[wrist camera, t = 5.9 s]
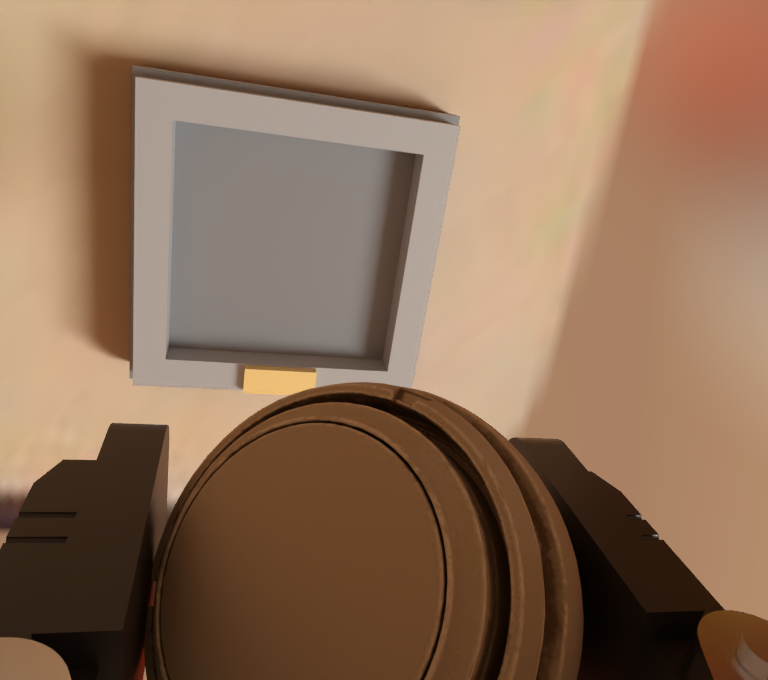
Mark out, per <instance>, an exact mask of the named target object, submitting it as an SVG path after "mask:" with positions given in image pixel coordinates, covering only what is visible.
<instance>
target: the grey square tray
mask: <svg viewBox="0 0 768 680" xmlns="http://www.w3.org/2000/svg"><path fill="white" fill-rule="evenodd" d="M459 118H460V116H456V115H452V114H448V113H441V112H435V111H429V110H422V109H416V108H409V107H403V106H396V105H390V104H383V103H377V102H371V101H364V100H358V99H351V98H345V97H338V96H332V95H326V94H319V93H313V92H306V91H300V90H293V89H287V88H280V87H274V86H268V85H261V84H255V83H248V82H242V81H235V80H229V79H222V78H216V77H210V76H203V75H197V74H190V73H184V72H177V71H171V70H165V69H158V68H152V67H145V66H139V65H133V66H132V76H131V237H130V378H133V385H136V386H159V387H181V388H203V389H225V390H243V393H253V394H276V395H292V394H295V393H298V392H301V391H304V390H307V389H311V388H316V387H322V386H327V385H333V384H341V383H352V382H372V383H384V384H389V385H394V386H400V387H407V388H412V385H413V379H414V374H415V369H416V363H417V358H418V352H419V347H420V342H421V336H422V331H423V325H424V320H425V315H426V309H427V304H428V298H429V293H430V287H431V282H432V277H433V271H434V266H435V260H436V255H437V250H438V244H439V239H440V233H441V228H442V223H443V217H444V212H445V206H446V201H447V196H448V190H449V185H450V179H451V174H452V169H453V163H454V158H455V152H456V147H457V142H458V136H459V131H460V126H458V124H459Z"/></svg>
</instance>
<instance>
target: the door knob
mask: <svg viewBox="0 0 768 680" xmlns="http://www.w3.org/2000/svg"><path fill="white" fill-rule="evenodd" d="M151 580H152V581H155V582H157V584H156V590H155V597H154V606H149V607H148V614H147V624H146V633H145V642H144V657H145V667H146V676H147V680H577V676H578V671H579V667H580V660H581V654H582V643H583V625H584V615H583V599H582V588H581V582H580V576H579V571H578V565H577V560H576V557H575V553H574V550H573V546H572V543H571V540H570V537H569V534H568V531H567V528H566V526H565V523H564V521H563V519H562V516H561V514H560V512H559V510H558V508H557V506H556V504H555V502H554V500H553V498H552V496H551V494H550V493H549V491H548V490H547V488H546V487H545V485H544V483H543V482H542V480H541V479H540V477H539V476H538V474H537V473H536V472H535V471H534V469H533V468H532V467H531V465H530V464H529V463H528V462H527V460H526V459H525V458H524V457H523V456H522V455H521V454H520V452H519V451H518V450H517V449H516V448H515V447H514V446H513V445H512V444H511V443H510V442H509V441H508V440H507V439H506V438H505V437H504V436H502V435H501V434H500V433H499V432H498V431H497V430H496V429H494V428H493V427H492V426H490V425H489V424H488V423H486V422H485V421H483V420H482V419H481V418H479V417H478V416H476V415H475V414H473V413H471V412H470V411H468V410H466V409H465V408H463V407H461V406H459V405H457V404H454V403H452V402H450V401H448V400H446V399H444V398H441V397H439V396H436V395H433V394H431V393H428V392H425V391H420V390H416V389H412V388H407V387H400V386H394V385H389V384H384V383H372V382H352V383H341V384H333V385H327V386H322V387H316V388H311V389H307V390H304V391H301V392H298V393H295V394H292V395H290V396H287V397H285V398H282V399H280V400H278V401H276V402H274V403H272V404H270V405H268V406H266V407H265V408H263V409H261V410H260V411H258V412H257V413H255V414H253V415H252V416H250V417H249V418H248V419H246V420H245V421H244V422H242V423H241V424H240V425H239V426H237V427H236V428H235V429H234V430H233V431H232V432H230V433H229V434H228V435H227V436H226V437H225V438H224V439H223V440H222V441H221V442H220V443H219V444H218V445H217V446H216V447H215V448H214V449H213V451H212V452H211V453H210V454H209V455H208V456H207V457H206V459H205V460H204V461H203V462H202V464H201V465H200V466H199V468H198V469H197V470H196V472H195V473H194V474H193V476H192V477H191V479H190V480H189V482H188V483H187V485H186V487H185V488H184V490H183V492H182V494H181V495H180V497H179V499H178V501H177V503H176V504H175V507H174V509H173V511H172V513H171V515H170V517H169V519H168V521H167V524H166V526H165V529H164V531H163V534H162V537H161V539H160V542H159V545H158V549H157V552H156V555H155V558H154V562H153V569H152V578H151Z"/></svg>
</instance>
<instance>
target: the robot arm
mask: <svg viewBox="0 0 768 680" xmlns="http://www.w3.org/2000/svg"><path fill="white" fill-rule="evenodd" d="M509 442H510V443H511V444H512V445H513V446H514V447H515V448H516V449H517V450H518V451H519V452H520V454H521V455H522V456H523V457H524V458H525V459H526V460H527V462H528V463H529V464H530V465H531V467H532V468H533V469H534V471H535V472H536V473H537V474H538V476H539V477H540V479H541V480H542V482H543V483H544V485H545V487H546V488H547V490H548V491H549V493H550V494H551V496H552V498H553V500H554V502H555V504H556V506H557V508H558V510H559V512H560V514H561V516H562V519H563V521H564V523H565V526H566V528H567V531H568V534H569V537H570V540H571V543H572V546H573V550H574V553H575V557H576V560H577V565H578V571H579V576H580V582H581V588H582V599H583V615H584V625H583V643H582V654H581V660H580V667H579V671H578V676H577V680H768V621H767V620H765V619H763V618H760V617H757V616H755V615H751V614H748V613H744V612H739V611H733V610H724V609H723V607H722V606H721V605H720V604H719V603H718V602H717V601H716V600H715V599H714V597H713V596H712V595H711V594H710V593H709V592H708V590H706V588H705V587H704V586H703V585H702V584H701V582H700V581H699V580H698V579H697V578H696V577H695V576H694V574H693V573H692V572H691V571H690V570H689V569H688V568H687V566H686V565H685V564H684V563H683V562H682V561H681V560H680V559H679V557H678V556H677V555H676V554H675V553H674V552H673V551H672V549H671V548H670V547H669V546H668V545H667V544H666V543H665V541H664V540H659V538H658V534H657V532H656V531H655V530H654V529H653V528H652V527H651V526H650V524H648V522H647V521H646V520H642V519H641V514H640V513H639V512H638V511H637V510H636V509H635V507H634V506H633V505H632V504H631V503H630V502H629V500H628V499H627V498H626V497H625V496H624V495H623V494H622V492H621V491H619V490H618V489H616V488H615V487H613V486H612V485H610V484H609V483H607V482H606V481H605V480H603V479H602V478H600V477H599V476H597V475H596V474H594V473H593V472H589V471H587V469H586V468H585V467H584V466H583V465H582V464H581V462H580V461H579V460H578V459H577V458H576V457H575V455H574V454H573V453H572V452H571V451H570V449H569V448H568V447H567V446H566V445H565V443H564V442H563V441H561V440H559V439H542V438H511V439H510V440H509ZM168 458H169V426H168V425H152V424H122V423H112V424H111V425H110V426H109V429H108V431H107V434H106V437H105V439H104V442H103V445H102V447H101V450H100V452H99V455H98V458H97V460H62V461H61V462H60V463H59V464H57V465H56V466H55V467H54V468H52V469H51V470H50V471H48V472H47V473H46V474H45V475H43V476H42V477H41V478H40V479H38V480H37V481H36V482H35V483H34V484H33V486H32V487H31V489H30V491H29V493H28V495H27V497H26V499H25V501H24V503H23V505H22V507H21V509H20V511H19V517H18V518H16V519H15V521H14V523H13V525H12V527H11V529H10V531H9V533H8V535H7V538H6V543H3V545H2V547H1V549H0V680H143V675H144V668H145V657H144V642H145V633H146V624H147V614H148V607H149V606H154V597H155V590H156V584H157V582H155V581H152V580H151V578H152V569H153V562H154V558H155V555H156V552H157V549H158V545H159V542H160V539H161V537H162V534H163V531H164V529H165V526H166V513H167V485H168Z"/></svg>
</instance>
